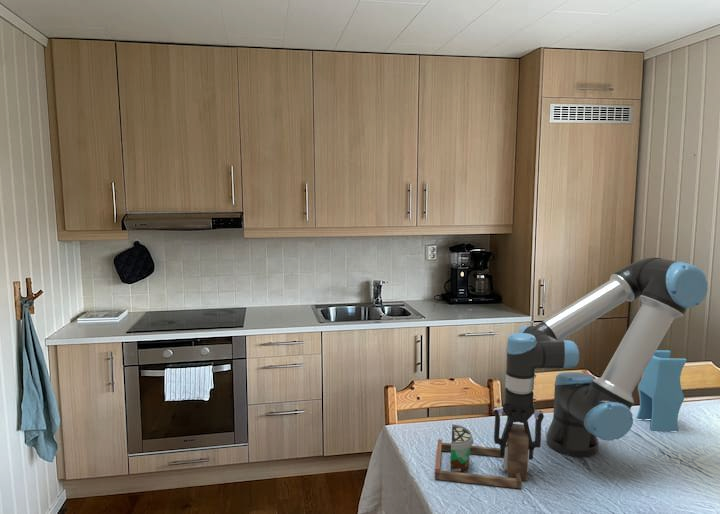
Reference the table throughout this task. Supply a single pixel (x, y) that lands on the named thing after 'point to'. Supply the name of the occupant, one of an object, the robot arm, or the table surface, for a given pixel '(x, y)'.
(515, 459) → the walnut bed frame
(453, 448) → the food container
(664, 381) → the blue wavy channel stand
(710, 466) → the table surface
